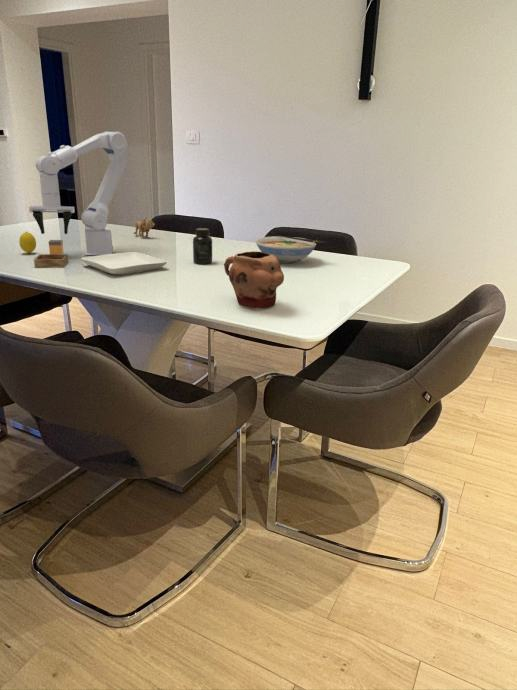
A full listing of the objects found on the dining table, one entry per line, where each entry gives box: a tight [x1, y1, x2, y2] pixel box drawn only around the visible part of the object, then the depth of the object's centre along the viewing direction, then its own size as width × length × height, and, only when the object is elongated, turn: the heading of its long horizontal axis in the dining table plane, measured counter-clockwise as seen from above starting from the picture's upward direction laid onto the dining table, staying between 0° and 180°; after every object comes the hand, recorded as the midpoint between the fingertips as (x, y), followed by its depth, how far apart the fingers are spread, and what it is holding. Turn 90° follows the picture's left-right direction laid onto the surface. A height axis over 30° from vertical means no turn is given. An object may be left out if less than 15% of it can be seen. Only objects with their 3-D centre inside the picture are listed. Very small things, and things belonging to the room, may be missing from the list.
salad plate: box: [80, 251, 168, 276], centre depth 172 cm, size 21×21×3 cm
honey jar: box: [48, 239, 65, 254], centre depth 182 cm, size 4×4×6 cm
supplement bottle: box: [192, 227, 213, 265], centre depth 182 cm, size 7×7×12 cm
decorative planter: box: [223, 250, 285, 310], centre depth 136 cm, size 20×12×14 cm, turn 55°
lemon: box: [18, 231, 37, 255], centre depth 186 cm, size 6×6×8 cm
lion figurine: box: [133, 217, 156, 240], centre depth 227 cm, size 15×5×9 cm, turn 45°
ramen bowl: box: [254, 234, 327, 264], centre depth 191 cm, size 25×23×8 cm
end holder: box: [33, 253, 69, 268], centre depth 173 cm, size 9×9×2 cm
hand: (54, 233), depth 180 cm, fingers open, 7 cm apart
